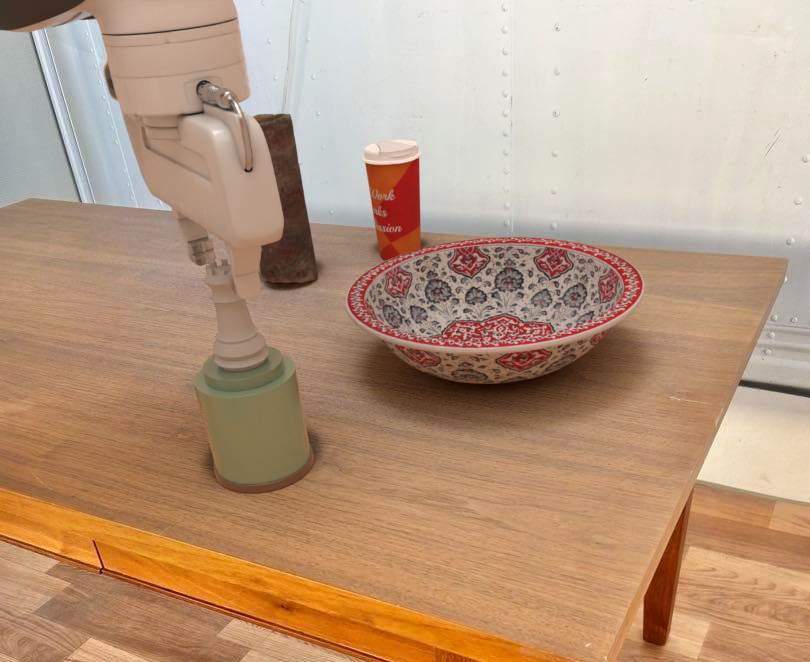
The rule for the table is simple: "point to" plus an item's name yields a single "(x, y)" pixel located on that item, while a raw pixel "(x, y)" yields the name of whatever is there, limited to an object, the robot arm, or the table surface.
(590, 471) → the table surface
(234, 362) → the rook chess piece
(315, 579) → the table surface
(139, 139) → the robot arm
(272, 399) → the upturned tumbler
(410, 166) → the paper cup
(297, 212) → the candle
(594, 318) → the ceramic bowl
